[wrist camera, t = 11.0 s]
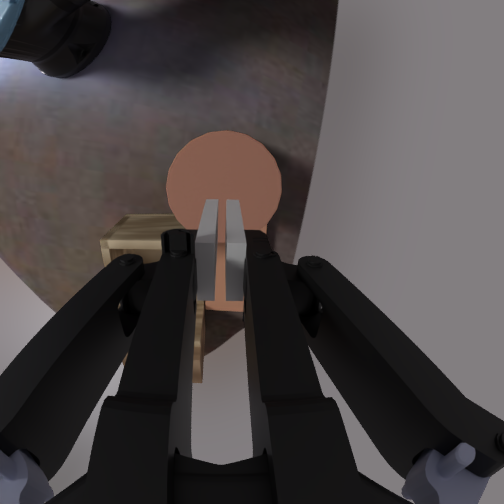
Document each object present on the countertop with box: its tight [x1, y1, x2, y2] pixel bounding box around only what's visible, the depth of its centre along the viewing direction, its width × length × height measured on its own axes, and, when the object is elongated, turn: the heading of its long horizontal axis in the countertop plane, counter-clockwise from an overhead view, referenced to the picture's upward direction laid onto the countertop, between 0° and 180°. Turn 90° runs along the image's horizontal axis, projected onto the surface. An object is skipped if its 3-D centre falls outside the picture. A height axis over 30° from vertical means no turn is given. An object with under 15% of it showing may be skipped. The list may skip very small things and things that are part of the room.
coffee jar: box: [166, 130, 282, 243], centre depth 32 cm, size 11×11×18 cm
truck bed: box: [100, 214, 206, 383], centre depth 41 cm, size 24×13×14 cm, turn 177°
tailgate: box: [205, 224, 267, 312], centre depth 47 cm, size 18×1×10 cm
